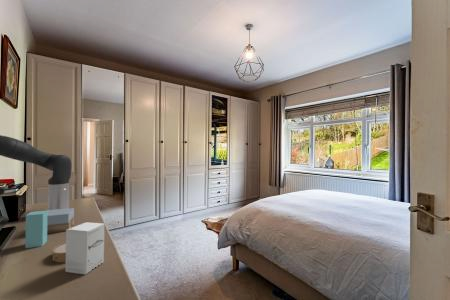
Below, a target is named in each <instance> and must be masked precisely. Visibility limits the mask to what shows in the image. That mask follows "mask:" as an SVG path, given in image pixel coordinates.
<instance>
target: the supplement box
mask: <svg viewBox="0 0 450 300" xmlns="http://www.w3.org/2000/svg"><path fill="white" fill-rule="evenodd" d="M65 242H66V262H65V268H64V269H65V273H71V274H79V275H88V273H90V272H92V271H93V270H94V269H96V268H97V267H99V266H101V265H102V264H103V263H105V223H102V222H88V221H86V222H83V223H80V224H78V225H75V226H72V227H71V228H70V229H67V230H66V231H65ZM101 263H102V264H101ZM98 265H99V266H98ZM95 267H96V268H95ZM92 269H93V270H92Z"/></svg>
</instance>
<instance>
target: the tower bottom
mask: <svg viewBox="0 0 450 300" xmlns="http://www.w3.org/2000/svg"><path fill="white" fill-rule="evenodd" d="M75 217H76V216H75V215H74V217H73V218H72V219H71V220H70V222H69V223H63V224H53V225H47V234H52V233H60V232H66V230H67V229H70V228H72V227H74V225H75V220H76V219H75Z"/></svg>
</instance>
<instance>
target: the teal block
mask: <svg viewBox="0 0 450 300" xmlns="http://www.w3.org/2000/svg"><path fill="white" fill-rule="evenodd" d="M47 241H48V233H47V211H46V210H41V211H40V210H39V211H37V210H36V211H31V212H29V213H27V214H26V215H25V244H24V246H25V249H29V248H30V249H31V248H38V247H43V246H44V245H45V244H46V243H47Z"/></svg>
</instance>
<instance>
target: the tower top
mask: <svg viewBox="0 0 450 300" xmlns="http://www.w3.org/2000/svg"><path fill="white" fill-rule="evenodd" d="M45 211H47V225H53V224H63V223H69V222H70V220H71V219H72V218H73V217H74V216H75V207H72V208H71V207H69V208H68V209H56V210H48V209H47V210H45Z"/></svg>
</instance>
